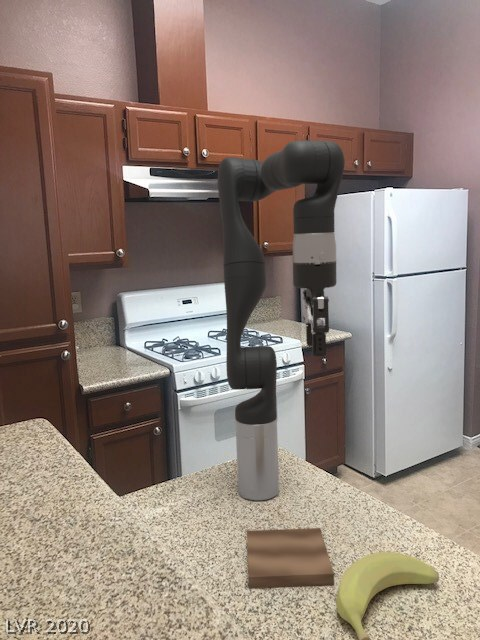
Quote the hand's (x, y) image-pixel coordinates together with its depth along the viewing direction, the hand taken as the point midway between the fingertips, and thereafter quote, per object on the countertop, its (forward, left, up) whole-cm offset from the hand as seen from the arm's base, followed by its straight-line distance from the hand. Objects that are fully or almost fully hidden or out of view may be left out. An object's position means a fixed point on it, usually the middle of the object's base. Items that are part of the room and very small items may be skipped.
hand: (315, 350), depth 94 cm
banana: (+10, +12, -34) cm, 37 cm away
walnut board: (+6, -7, -37) cm, 38 cm away
